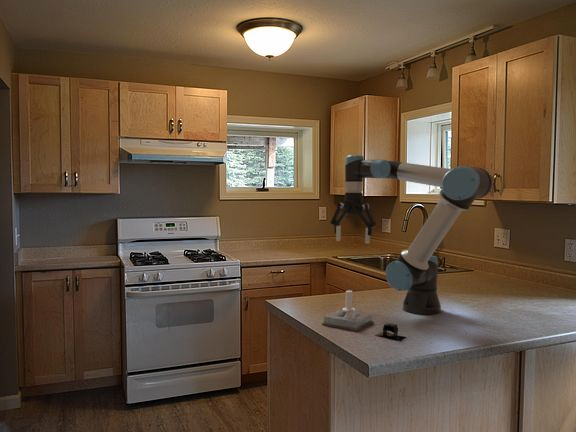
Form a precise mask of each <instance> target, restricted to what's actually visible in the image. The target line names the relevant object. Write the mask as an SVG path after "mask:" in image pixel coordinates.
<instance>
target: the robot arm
mask: <svg viewBox="0 0 576 432" xmlns="http://www.w3.org/2000/svg"><path fill="white" fill-rule="evenodd" d="M344 170H345V171H344V174H345V175H344V176H345V180H344V192H345V193H344V203H343V202H338V203H337V208H336V210H335V212H334V214H333V217H332V218H331V220H330V224H331V225H333V226H334V234H335V235H336V236H335V239H336V240H335V242H340V241H341V234H342V233H341V231H342V228H341V227H342V226H341V225H340V224H341V223H342V222H343V221H344V219H346V217H347V216H348V215H358V216H359V217H360V219H361V220H362V221H363V222H364V223H363V224H365V225H366V227H365V236H364V237H365V242H364V243H365V244H370V243H371V242H370V241H371V238H370V237H371V236H372V235H373V227H376V226H377V222H376V220H375V218H374V216H373V213H372V210H371V205H370V203H365V204H364V203H363V199H364V197H363V194H364V193H363V191H364V190H363V189H364V185H363V184H364V179H390V180H396V181H397V180H398V181H403V182H409V183H415V184H421V185H426V186H432V187H437V188H438V187H439V188H441V190H440V191H439V193H438V194H439V200H438V202H437V204H436V205H435V207H434V208H433V210H432V211H431V213H430V214H429V216H428V217H427V219H426V221H425V222H424V224H423V225H422V226H421V229H420V230H419V232H418V233H417V235H416V236H415V238H414V240H413V241H412V242H411V244H410V245H409V246H408V249H403V250H402V251H400V254H398V256H397V259H395V260H392V261H391V262H390V263H388V265H387V266H386V268H385V274H384V275H385V278H386V281H387V283H388V285H389V286H390V287H391V288H392V289H393V290H395V291H398V292H402V291H404V292H405V291H406V294H405V295H404V296H405V297H404V300H403V301H402V310H404V311H405V312H408V313H411V314H412V313H413V314H418V315H419V314H420V315H435V314H440V313H441V310H442V307H441V302H440V299H439V295H438V273H439V269H438V267H439V261H438V257H437V256H436V255H434V253H435V251H436V250H437V248H438V247H439V246H440V244H441V242H442V241H443V239H444V238H445V237H446V235H447V234H448V232H449V230H451V228H452V226H453V225H454V224H455V222H456V220H457V219H458V218H459V217H460V215H461V213H462V212H464V211H468V210H469V209H470V208H471V206H472V204H473V203H474V202H475V200H480V199H483V198H485V197H486V196H487V195H489V194H490V192H491V191H492V189H493V186H494V181H493V180H494V179H493V177H492V175H491V173H490V172H489V171H488V170H486V169H485V168H482V167H478V166H477V167H476V166H475V167H474V166H469V165H460V166H456V167H452V168H446V167H440V166H439V167H438V166H432V165H426V164H425V165H424V164H418V163H417V164H416V163H411V162H402V161H398V160H386V159H382V158H381V159H380V158H379V159H378V158H376V159H364V155H360V154H355V155H354V154H351V155H347V156H346V157H345V165H344ZM343 208H344V209H345V210H343ZM363 209H364V211H365V213H366V215H365V214H364V212H363ZM342 210H343V212H342ZM341 212H342V213H341ZM340 214H341V215H340Z"/></svg>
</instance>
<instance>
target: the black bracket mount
mask: <svg viewBox="0 0 576 432" xmlns="http://www.w3.org/2000/svg"><path fill="white" fill-rule="evenodd" d="M373 336H374V337H379V338H382V339H388V340H391V341H397V342H402V341H403V340H404V339H406V338H407V336H401V335H399V327H398V324H394V323H390V322H388V323H385V324H383V327H382V331H380V332H379V333H377V334H374V335H373Z"/></svg>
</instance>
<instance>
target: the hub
mask: <svg viewBox="0 0 576 432" xmlns="http://www.w3.org/2000/svg"><path fill="white" fill-rule="evenodd" d="M351 314H352V316H353V317H354V318H353V319H351V318H345V315H346V311H344V310H343V308H339V309H337V310H335V311H332V312H331V313H328V314H326V315H325V316H323V322H321V325H322V326H326V325H327V327H331V326H332V327H333V328H337V329H343V330H349V331H354V332H359V331H360V330H363V329H365V327H368V326H369V325H371V324H373V323H374V320H372V315H373V314H372V313H367V312H362V311H356V310H354V311H352V312H351ZM332 327H331V328H332Z"/></svg>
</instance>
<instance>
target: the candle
mask: <svg viewBox="0 0 576 432" xmlns="http://www.w3.org/2000/svg"><path fill="white" fill-rule="evenodd" d="M353 293H354V292H353V290H351V289H348V290H346V291H345V303H344V304H345V305H344V306H345V307H343V308H342V309H343V310H344V311H346V315H345V318H351V319H353V318H354V317H353V316H352V314H351V312H352V311H356V309H355V308H354V307H353V301H354V295H353Z"/></svg>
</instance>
